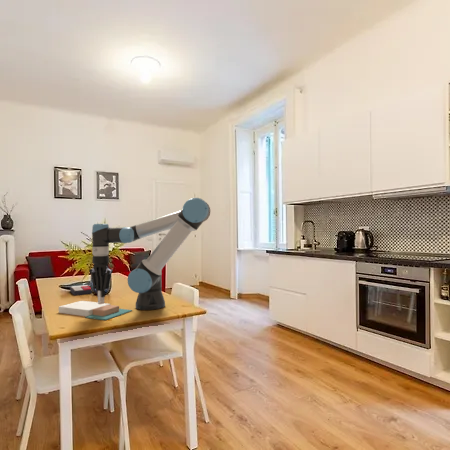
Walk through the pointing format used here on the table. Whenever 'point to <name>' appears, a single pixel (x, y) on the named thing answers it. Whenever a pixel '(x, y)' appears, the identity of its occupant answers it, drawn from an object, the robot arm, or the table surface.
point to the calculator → (80, 290)
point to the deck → (80, 308)
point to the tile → (105, 310)
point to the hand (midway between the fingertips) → (101, 303)
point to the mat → (120, 312)
